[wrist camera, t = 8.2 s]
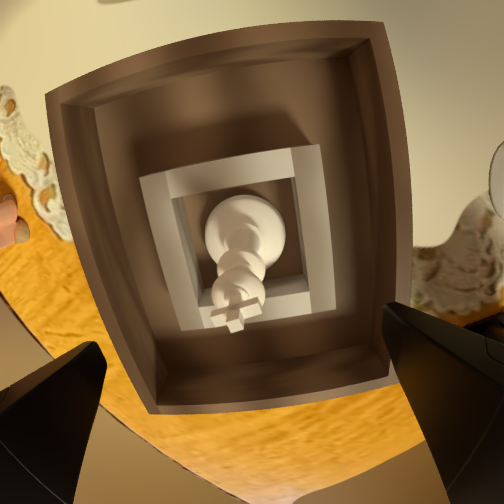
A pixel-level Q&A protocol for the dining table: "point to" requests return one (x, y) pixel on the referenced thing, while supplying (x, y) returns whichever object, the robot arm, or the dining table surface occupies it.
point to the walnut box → (242, 183)
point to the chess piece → (242, 256)
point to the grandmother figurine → (11, 223)
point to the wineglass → (497, 180)
